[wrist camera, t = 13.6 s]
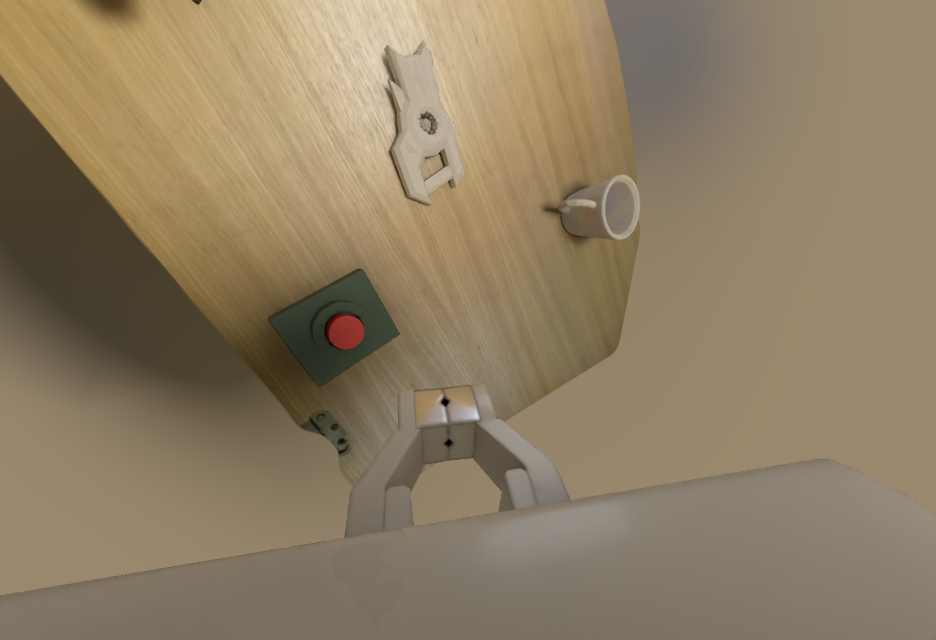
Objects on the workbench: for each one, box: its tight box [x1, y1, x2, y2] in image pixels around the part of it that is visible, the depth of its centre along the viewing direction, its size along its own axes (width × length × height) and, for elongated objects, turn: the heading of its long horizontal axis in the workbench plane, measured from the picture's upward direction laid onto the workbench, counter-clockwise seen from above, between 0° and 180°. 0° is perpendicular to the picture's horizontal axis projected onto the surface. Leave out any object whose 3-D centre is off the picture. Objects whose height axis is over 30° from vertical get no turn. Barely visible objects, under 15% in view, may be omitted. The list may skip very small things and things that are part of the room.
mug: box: [558, 175, 640, 240], centre depth 58 cm, size 10×15×10 cm
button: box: [326, 314, 364, 349], centre depth 39 cm, size 4×4×2 cm
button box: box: [268, 269, 400, 387], centre depth 41 cm, size 12×10×4 cm
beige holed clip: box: [384, 40, 465, 205], centre depth 43 cm, size 18×3×10 cm
